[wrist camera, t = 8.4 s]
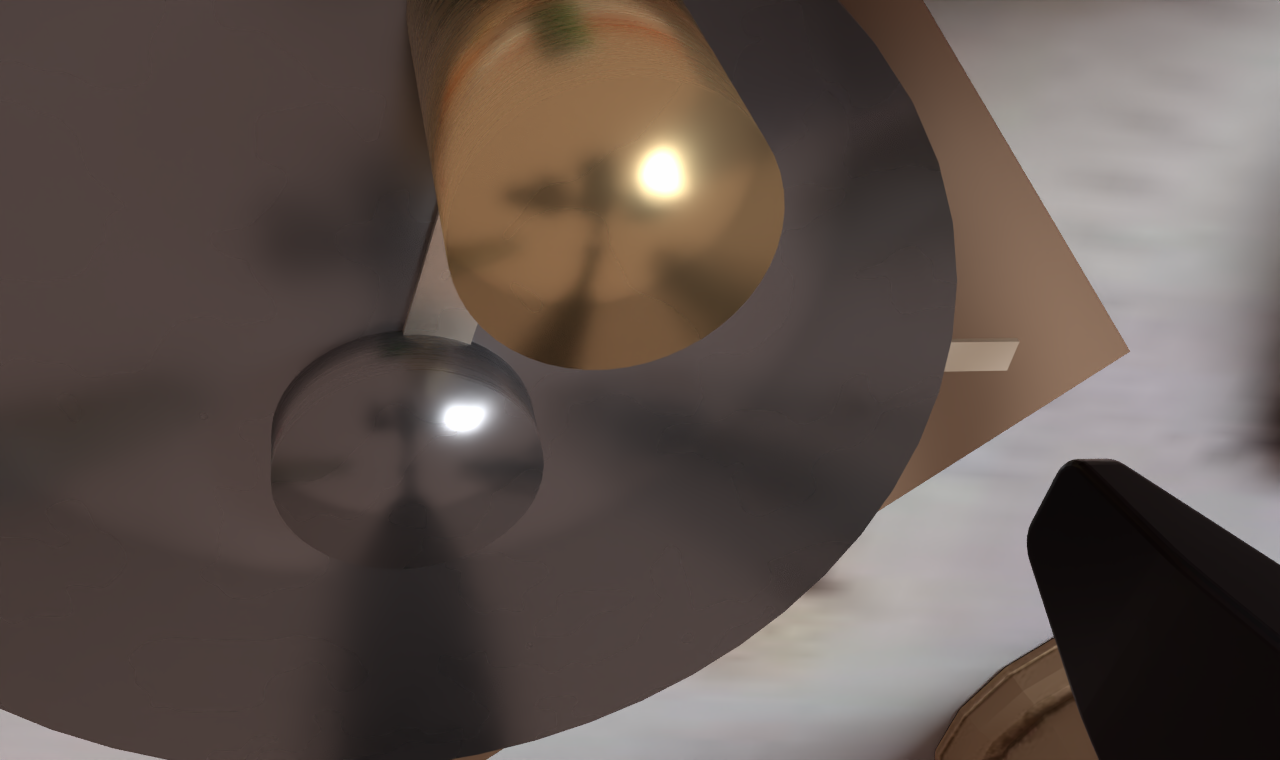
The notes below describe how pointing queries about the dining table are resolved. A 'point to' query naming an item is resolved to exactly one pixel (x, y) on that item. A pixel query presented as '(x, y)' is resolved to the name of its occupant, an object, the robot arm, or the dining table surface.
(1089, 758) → the lantern
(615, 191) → the handwheel
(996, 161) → the wheel base
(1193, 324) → the dining table surface
